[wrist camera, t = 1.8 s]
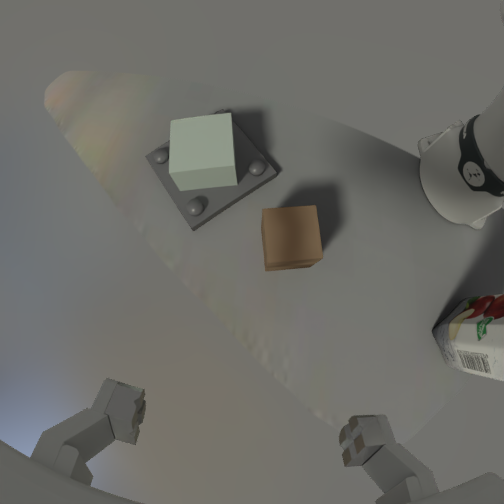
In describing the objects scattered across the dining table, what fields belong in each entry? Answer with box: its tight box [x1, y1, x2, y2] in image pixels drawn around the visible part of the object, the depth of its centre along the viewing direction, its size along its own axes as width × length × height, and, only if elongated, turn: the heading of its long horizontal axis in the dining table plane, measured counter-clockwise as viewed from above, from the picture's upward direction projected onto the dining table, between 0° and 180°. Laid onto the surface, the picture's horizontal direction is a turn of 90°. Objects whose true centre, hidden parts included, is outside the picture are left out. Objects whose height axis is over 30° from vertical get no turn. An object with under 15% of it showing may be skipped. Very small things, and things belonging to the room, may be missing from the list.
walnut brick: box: [261, 205, 323, 271], centre depth 36 cm, size 6×6×8 cm
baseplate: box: [145, 109, 277, 231], centre depth 38 cm, size 14×14×8 cm
